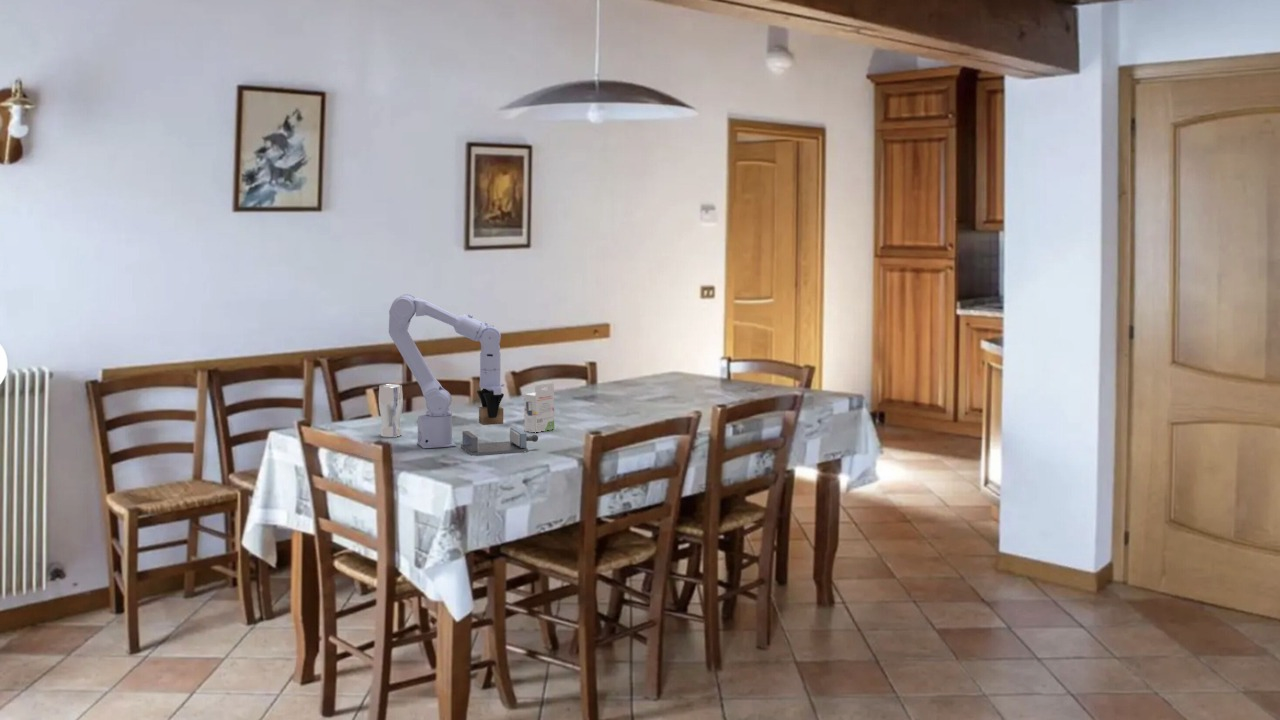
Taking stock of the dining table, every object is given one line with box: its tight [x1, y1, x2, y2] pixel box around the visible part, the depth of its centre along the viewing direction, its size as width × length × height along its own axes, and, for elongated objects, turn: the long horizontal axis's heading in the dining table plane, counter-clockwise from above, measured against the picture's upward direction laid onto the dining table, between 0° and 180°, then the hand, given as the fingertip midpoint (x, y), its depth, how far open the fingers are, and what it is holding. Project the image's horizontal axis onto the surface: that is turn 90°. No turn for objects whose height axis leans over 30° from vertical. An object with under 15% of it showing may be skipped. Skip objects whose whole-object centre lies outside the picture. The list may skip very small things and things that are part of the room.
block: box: [478, 405, 504, 426], centre depth 325 cm, size 6×4×4 cm, turn 115°
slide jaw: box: [509, 426, 539, 448], centre depth 323 cm, size 6×10×4 cm, turn 24°
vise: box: [460, 430, 529, 456], centre depth 319 cm, size 16×12×5 cm
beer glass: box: [378, 383, 404, 438], centre depth 336 cm, size 7×7×15 cm
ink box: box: [523, 382, 555, 434], centre depth 348 cm, size 9×5×15 cm, turn 141°
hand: (490, 416), depth 325 cm, fingers closed on block, 4 cm apart
